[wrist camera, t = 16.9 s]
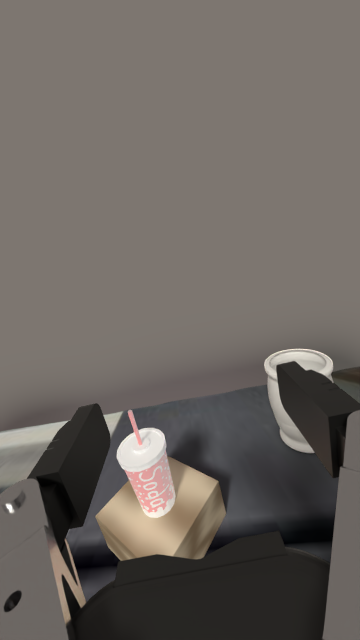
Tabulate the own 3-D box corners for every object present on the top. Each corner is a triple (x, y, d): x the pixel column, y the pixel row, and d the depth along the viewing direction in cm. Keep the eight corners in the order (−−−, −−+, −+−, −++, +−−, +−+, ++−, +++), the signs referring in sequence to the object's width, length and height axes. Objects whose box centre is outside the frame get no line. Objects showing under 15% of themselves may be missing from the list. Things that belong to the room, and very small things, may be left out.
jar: (281, 411, 51) (272, 347, 47) (339, 422, 45) (335, 349, 41) (267, 449, 43) (255, 375, 39) (336, 468, 37) (330, 382, 33)
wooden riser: (165, 478, 42) (156, 450, 41) (226, 513, 34) (218, 481, 33) (108, 547, 34) (95, 516, 32) (172, 616, 26) (159, 578, 24)
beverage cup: (132, 528, 30) (96, 434, 26) (140, 482, 35) (111, 401, 32) (181, 519, 29) (152, 423, 26) (181, 475, 35) (157, 391, 32)
